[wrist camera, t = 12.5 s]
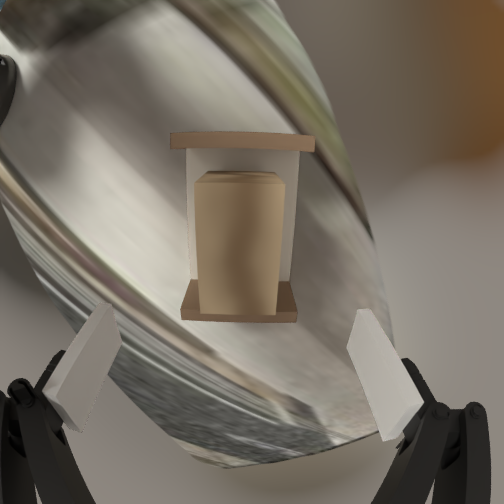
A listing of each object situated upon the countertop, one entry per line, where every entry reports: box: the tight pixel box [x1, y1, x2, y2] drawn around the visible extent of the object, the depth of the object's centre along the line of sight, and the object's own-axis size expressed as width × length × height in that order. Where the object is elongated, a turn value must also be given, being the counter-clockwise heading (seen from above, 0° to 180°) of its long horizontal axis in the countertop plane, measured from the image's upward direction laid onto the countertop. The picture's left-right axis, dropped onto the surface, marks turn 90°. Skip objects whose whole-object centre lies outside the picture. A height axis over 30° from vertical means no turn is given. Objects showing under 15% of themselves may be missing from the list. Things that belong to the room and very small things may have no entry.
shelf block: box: [194, 171, 285, 315], centre depth 27 cm, size 7×12×8 cm, turn 178°
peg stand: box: [170, 132, 315, 323], centre depth 31 cm, size 13×20×8 cm, turn 178°
